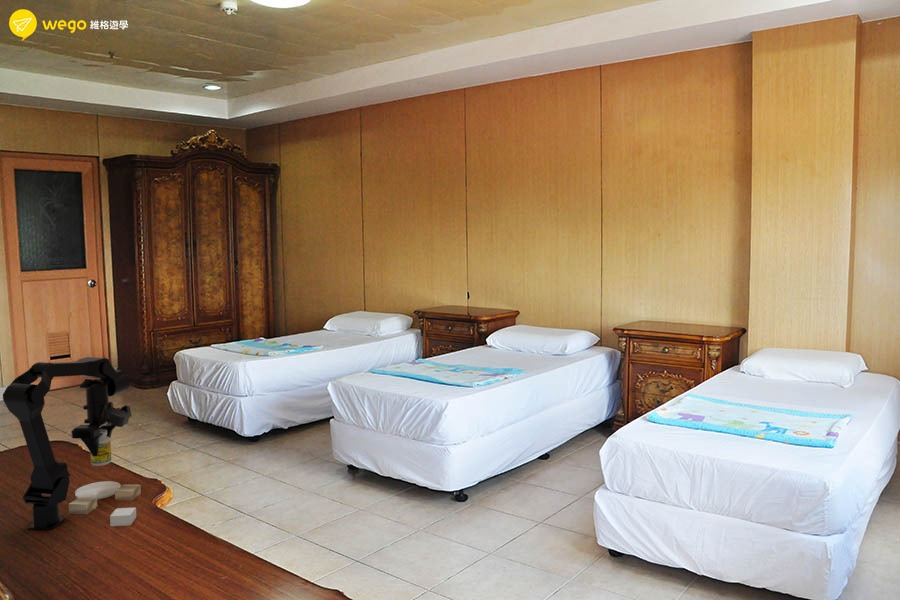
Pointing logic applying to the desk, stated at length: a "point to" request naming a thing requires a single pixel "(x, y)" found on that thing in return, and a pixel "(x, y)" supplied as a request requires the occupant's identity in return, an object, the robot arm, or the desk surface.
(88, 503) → the birch block
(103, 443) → the supplement bottle
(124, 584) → the desk surface
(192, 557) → the desk surface
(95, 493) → the cream saucer
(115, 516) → the grey plastic block
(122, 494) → the oak block
